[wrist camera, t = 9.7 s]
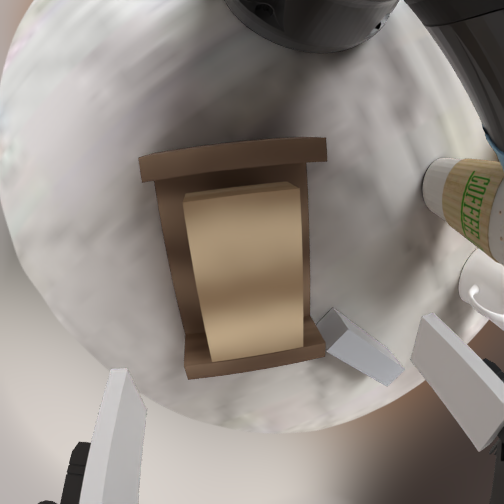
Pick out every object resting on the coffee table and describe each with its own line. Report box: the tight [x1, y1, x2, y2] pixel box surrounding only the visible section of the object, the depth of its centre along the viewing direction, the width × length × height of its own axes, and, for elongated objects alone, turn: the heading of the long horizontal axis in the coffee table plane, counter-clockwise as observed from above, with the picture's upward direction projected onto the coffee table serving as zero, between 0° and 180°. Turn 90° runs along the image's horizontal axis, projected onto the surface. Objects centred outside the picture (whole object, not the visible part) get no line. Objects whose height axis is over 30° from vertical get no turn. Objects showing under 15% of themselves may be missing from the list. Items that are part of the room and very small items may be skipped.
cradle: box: [139, 137, 327, 380], centre depth 24 cm, size 18×12×6 cm, turn 6°
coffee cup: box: [423, 158, 504, 266], centre depth 20 cm, size 10×10×15 cm
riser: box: [316, 308, 405, 386], centre depth 31 cm, size 12×3×4 cm, turn 51°
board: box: [183, 182, 303, 362], centre depth 21 cm, size 12×7×3 cm, turn 6°
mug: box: [459, 248, 504, 331], centre depth 27 cm, size 12×8×12 cm
